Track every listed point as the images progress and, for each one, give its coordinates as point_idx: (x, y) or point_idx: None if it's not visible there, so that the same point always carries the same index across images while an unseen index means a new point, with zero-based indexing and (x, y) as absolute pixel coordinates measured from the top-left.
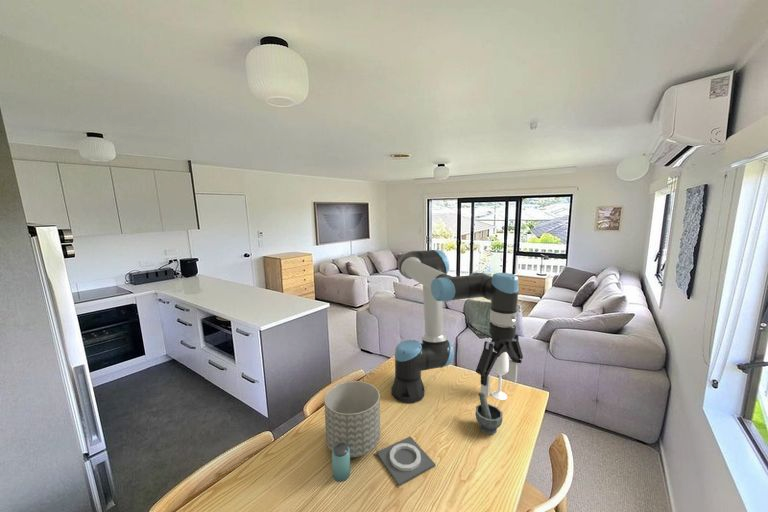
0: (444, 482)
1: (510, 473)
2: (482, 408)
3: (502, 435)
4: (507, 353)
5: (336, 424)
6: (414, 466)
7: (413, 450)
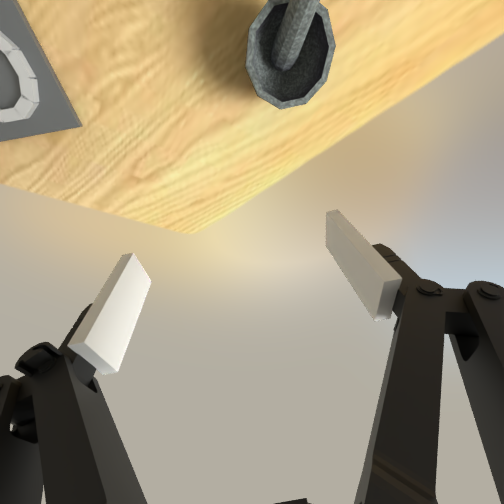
0: (96, 169)
1: (231, 195)
2: (283, 24)
3: None
4: (393, 360)
5: None
6: (15, 120)
7: (11, 59)
